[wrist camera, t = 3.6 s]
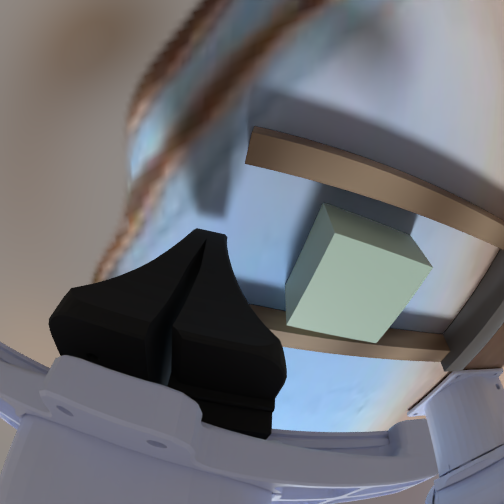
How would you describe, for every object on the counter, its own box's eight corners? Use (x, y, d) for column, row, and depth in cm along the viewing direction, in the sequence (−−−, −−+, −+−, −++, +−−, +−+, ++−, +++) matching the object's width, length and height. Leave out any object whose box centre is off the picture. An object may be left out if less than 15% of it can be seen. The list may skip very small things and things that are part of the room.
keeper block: (408, 233, 13) (432, 267, 11) (364, 304, 16) (376, 343, 13) (322, 200, 13) (334, 232, 10) (284, 283, 15) (286, 325, 13)
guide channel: (526, 234, 12) (547, 255, 10) (450, 346, 18) (461, 371, 16) (254, 125, 11) (250, 136, 9) (214, 312, 17) (206, 345, 14)
